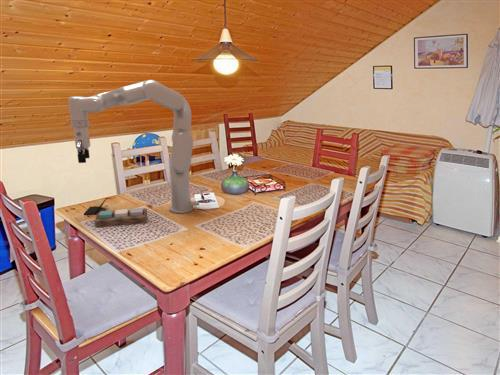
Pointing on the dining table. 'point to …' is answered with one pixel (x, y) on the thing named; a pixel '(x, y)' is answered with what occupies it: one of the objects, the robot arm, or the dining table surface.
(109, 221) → the key panel
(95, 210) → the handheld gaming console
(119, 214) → the cream key
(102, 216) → the teal square block
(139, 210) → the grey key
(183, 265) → the dining table surface
